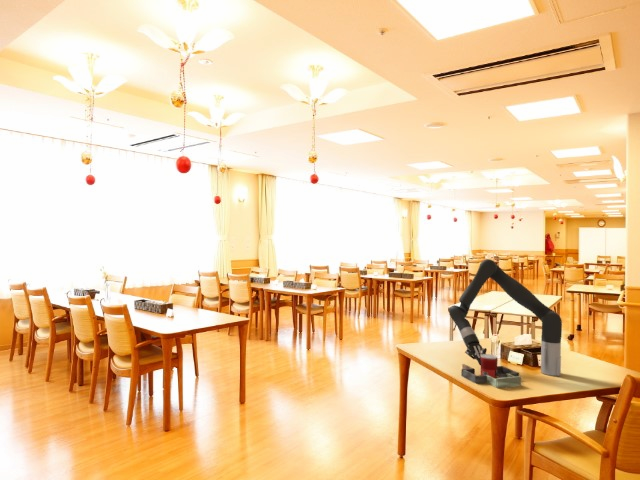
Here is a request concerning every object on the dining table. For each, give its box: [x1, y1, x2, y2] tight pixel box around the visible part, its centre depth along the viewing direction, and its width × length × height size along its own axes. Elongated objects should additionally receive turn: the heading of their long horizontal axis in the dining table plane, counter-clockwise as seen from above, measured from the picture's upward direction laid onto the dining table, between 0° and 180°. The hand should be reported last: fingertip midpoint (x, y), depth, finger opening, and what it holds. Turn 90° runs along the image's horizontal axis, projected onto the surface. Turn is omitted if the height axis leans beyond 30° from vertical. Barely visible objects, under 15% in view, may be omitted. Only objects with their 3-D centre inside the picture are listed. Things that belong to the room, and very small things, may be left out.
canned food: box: [480, 353, 498, 379], centre depth 219 cm, size 8×8×11 cm
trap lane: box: [460, 363, 522, 389], centre depth 218 cm, size 28×25×4 cm
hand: (483, 365), depth 224 cm, fingers closed
